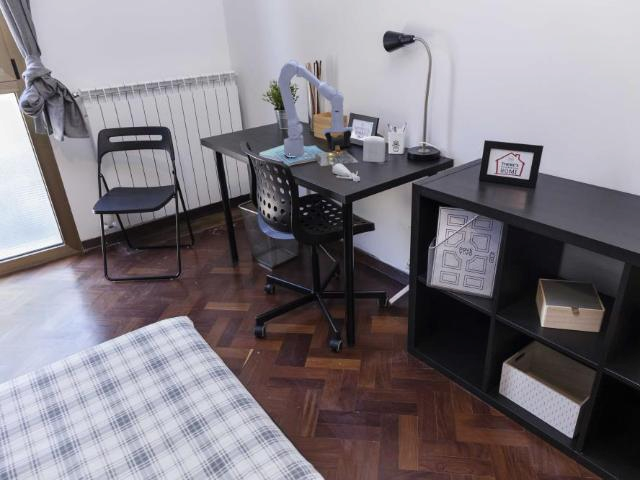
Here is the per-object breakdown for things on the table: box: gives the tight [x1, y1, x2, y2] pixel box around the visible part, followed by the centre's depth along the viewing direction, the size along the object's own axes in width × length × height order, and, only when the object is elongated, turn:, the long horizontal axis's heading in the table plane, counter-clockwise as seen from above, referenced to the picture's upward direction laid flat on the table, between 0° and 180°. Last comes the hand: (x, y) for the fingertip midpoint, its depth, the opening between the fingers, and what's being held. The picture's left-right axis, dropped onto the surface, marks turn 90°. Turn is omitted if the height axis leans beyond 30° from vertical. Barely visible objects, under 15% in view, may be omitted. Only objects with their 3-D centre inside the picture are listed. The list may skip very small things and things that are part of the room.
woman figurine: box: [331, 163, 361, 183], centre depth 208 cm, size 12×4×18 cm
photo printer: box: [362, 135, 386, 165], centre depth 222 cm, size 10×4×12 cm, turn 73°
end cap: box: [327, 134, 351, 151], centre depth 245 cm, size 10×7×7 cm
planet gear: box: [332, 145, 344, 156], centre depth 234 cm, size 5×5×4 cm
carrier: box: [310, 150, 359, 167], centre depth 229 cm, size 18×20×4 cm
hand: (337, 147), depth 234 cm, fingers open, 7 cm apart
